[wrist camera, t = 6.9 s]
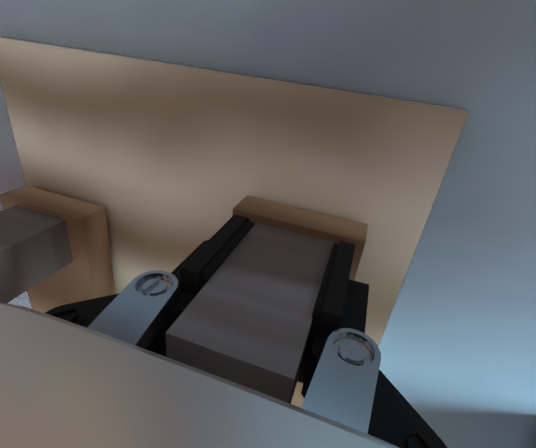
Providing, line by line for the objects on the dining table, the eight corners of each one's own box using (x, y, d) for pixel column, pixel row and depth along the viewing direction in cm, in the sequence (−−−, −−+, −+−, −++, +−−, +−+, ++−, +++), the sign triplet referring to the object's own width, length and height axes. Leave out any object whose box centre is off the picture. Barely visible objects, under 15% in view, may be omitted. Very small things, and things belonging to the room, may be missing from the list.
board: (2, 37, 16) (-11, 36, 15) (465, 109, 11) (468, 111, 11) (90, 421, 30) (85, 427, 29) (308, 521, 25) (307, 530, 25)
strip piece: (27, 185, 18) (-174, 254, 12) (104, 207, 17) (-71, 297, 10) (60, 322, 23) (-70, 425, 16) (122, 346, 22) (9, 467, 15)
